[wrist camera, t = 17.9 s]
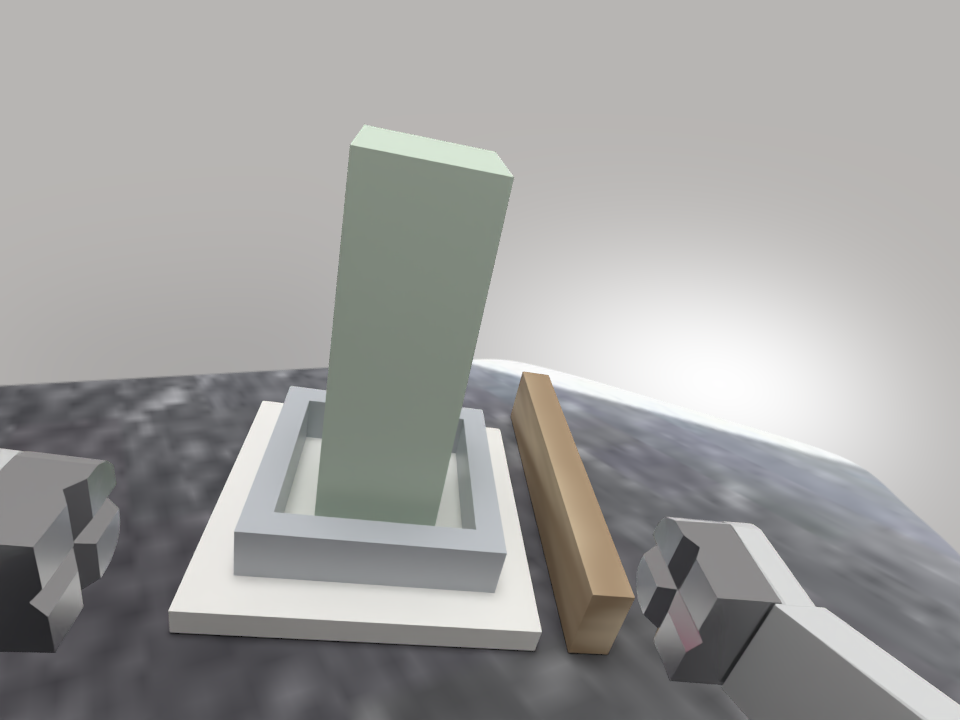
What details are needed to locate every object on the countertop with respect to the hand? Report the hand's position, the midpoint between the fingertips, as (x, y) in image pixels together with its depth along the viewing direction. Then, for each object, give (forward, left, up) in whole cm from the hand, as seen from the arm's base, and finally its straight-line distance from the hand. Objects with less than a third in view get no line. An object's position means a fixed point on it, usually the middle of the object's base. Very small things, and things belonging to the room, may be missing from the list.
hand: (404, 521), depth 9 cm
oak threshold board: (+8, +14, -11) cm, 19 cm away
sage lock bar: (0, +12, -10) cm, 16 cm away
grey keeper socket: (0, +12, -11) cm, 16 cm away
